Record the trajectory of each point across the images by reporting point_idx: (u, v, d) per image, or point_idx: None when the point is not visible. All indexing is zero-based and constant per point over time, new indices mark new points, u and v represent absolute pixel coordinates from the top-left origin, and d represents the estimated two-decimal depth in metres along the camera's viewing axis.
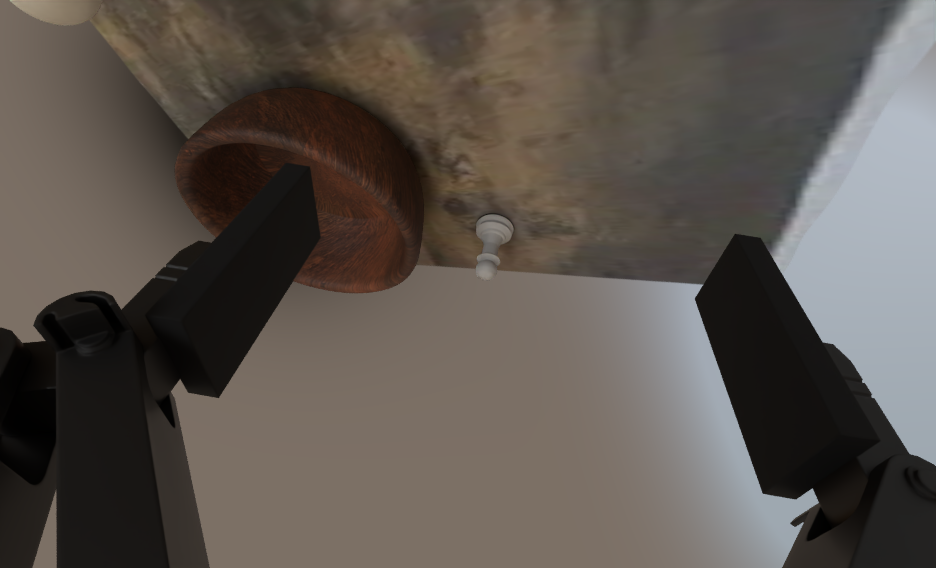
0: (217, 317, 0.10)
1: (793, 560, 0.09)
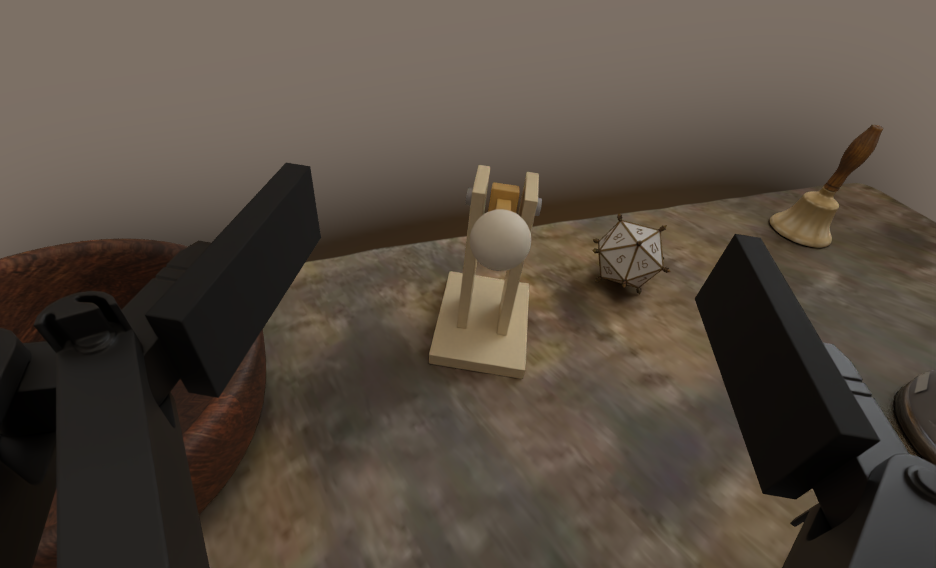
0: (217, 317, 0.10)
1: (793, 560, 0.09)
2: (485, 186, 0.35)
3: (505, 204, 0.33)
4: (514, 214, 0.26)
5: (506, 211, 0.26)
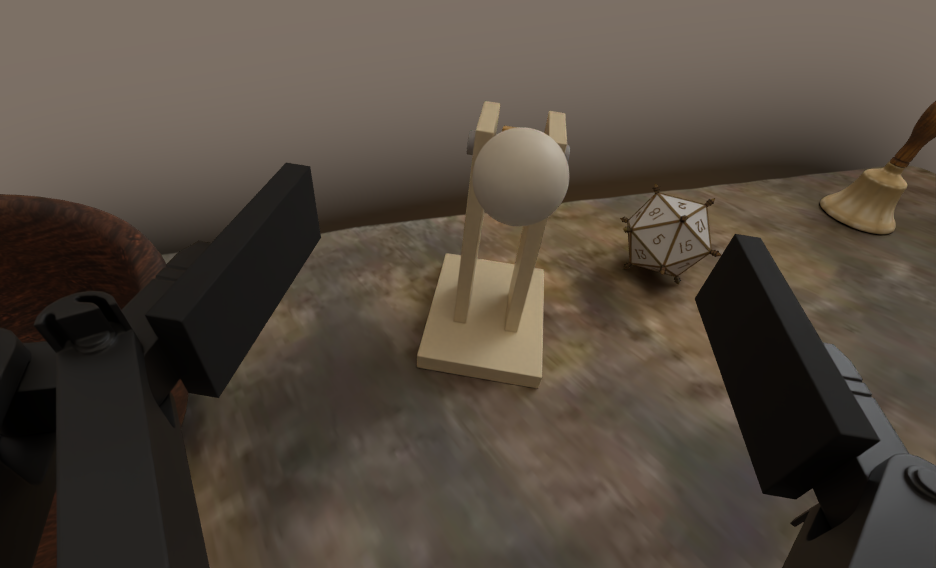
0: (217, 317, 0.10)
1: (793, 560, 0.09)
2: (494, 124, 0.25)
3: None
4: (544, 133, 0.16)
5: (531, 129, 0.16)
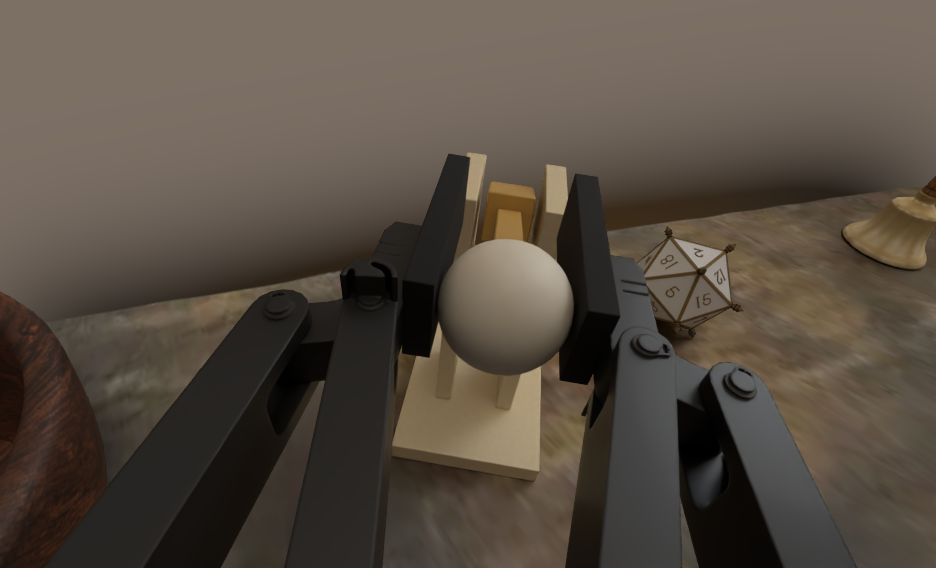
0: (439, 285, 0.12)
1: (585, 450, 0.10)
2: (477, 187, 0.20)
3: (512, 219, 0.19)
4: (538, 252, 0.11)
5: (519, 245, 0.11)
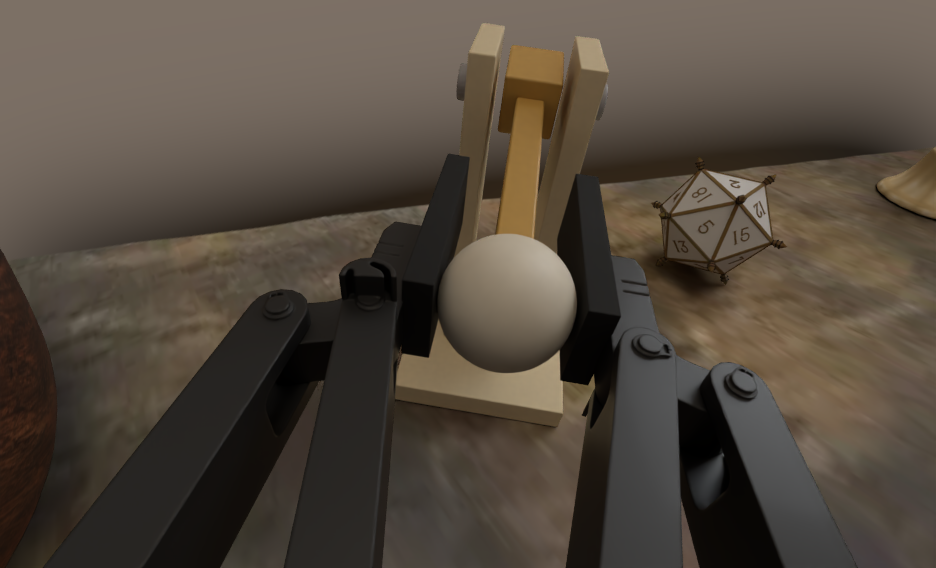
0: (438, 285, 0.12)
1: (585, 450, 0.10)
2: (496, 47, 0.17)
3: (531, 124, 0.16)
4: (539, 269, 0.10)
5: (519, 262, 0.10)
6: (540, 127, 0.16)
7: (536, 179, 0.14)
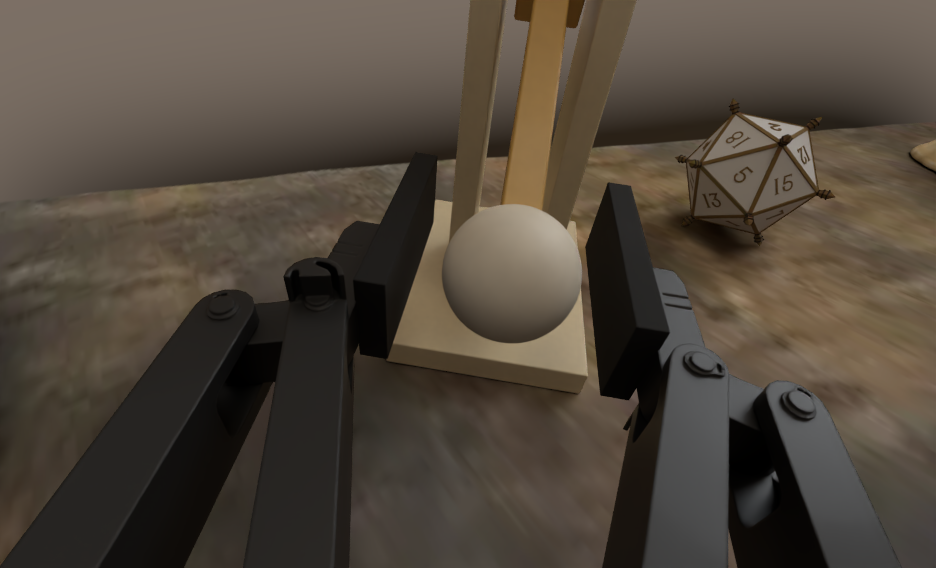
0: (395, 285, 0.11)
1: (626, 464, 0.10)
2: None
3: (552, 26, 0.13)
4: (542, 261, 0.10)
5: (522, 255, 0.10)
6: (563, 30, 0.13)
7: (552, 114, 0.13)
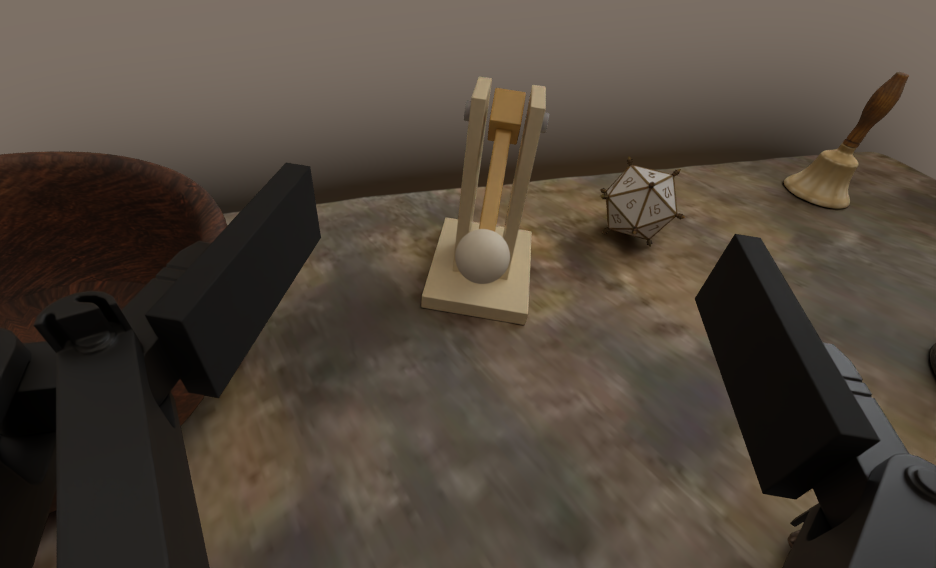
0: (218, 317, 0.10)
1: (793, 560, 0.09)
2: (486, 93, 0.31)
3: (502, 151, 0.31)
4: (492, 251, 0.28)
5: (484, 248, 0.28)
6: (506, 153, 0.31)
7: (500, 191, 0.30)
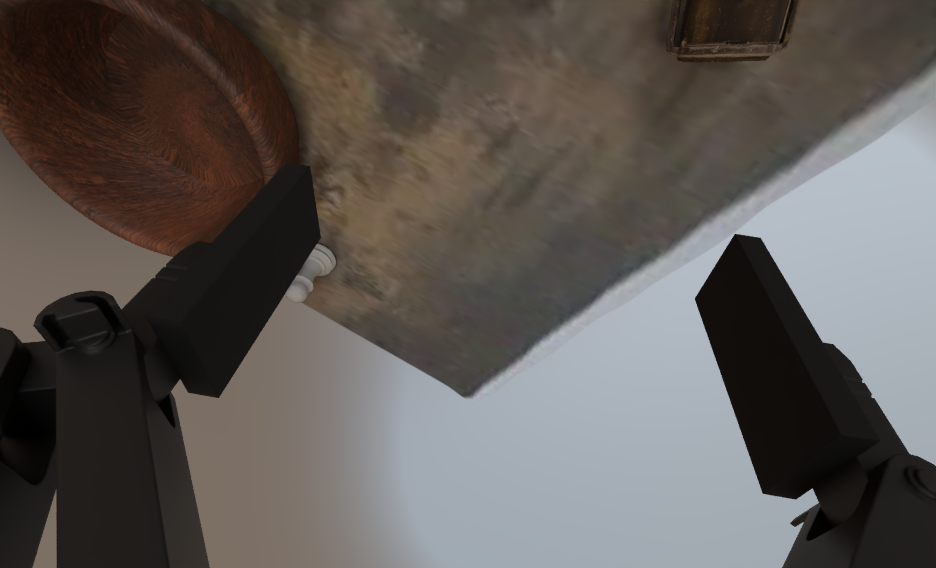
0: (217, 317, 0.10)
1: (793, 560, 0.09)
2: None
3: None
4: None
5: None
6: None
7: None
